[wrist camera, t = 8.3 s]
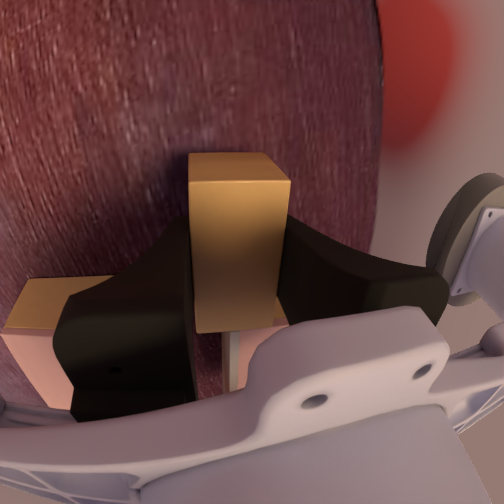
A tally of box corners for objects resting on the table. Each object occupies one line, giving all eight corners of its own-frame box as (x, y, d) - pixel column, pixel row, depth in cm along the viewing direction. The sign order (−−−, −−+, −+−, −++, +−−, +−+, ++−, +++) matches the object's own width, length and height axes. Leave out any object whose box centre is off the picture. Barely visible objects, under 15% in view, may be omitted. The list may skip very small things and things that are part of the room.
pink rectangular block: (122, 273, 15) (109, 337, 11) (146, 367, 19) (146, 423, 16) (28, 278, 14) (-1, 334, 10) (69, 367, 18) (59, 419, 15)
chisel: (188, 152, 11) (188, 181, 8) (264, 152, 12) (291, 180, 9) (202, 386, 19) (207, 431, 16) (246, 382, 20) (256, 426, 17)
